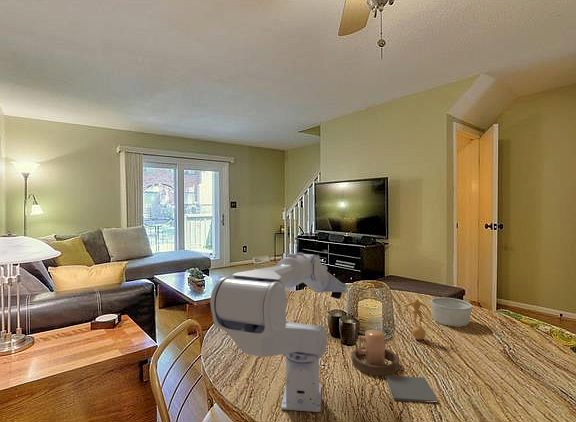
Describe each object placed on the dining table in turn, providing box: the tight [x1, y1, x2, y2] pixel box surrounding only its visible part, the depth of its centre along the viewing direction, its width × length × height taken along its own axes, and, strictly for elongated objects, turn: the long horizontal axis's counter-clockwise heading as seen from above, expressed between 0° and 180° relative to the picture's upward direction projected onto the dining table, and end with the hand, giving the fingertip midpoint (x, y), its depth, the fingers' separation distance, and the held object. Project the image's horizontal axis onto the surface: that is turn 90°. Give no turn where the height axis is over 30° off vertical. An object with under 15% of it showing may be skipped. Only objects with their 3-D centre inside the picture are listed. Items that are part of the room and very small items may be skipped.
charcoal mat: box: [385, 374, 439, 403], centre depth 70 cm, size 9×9×1 cm
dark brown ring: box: [351, 346, 400, 377], centre depth 82 cm, size 12×12×2 cm
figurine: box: [403, 298, 432, 341], centre depth 98 cm, size 8×6×12 cm
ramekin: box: [430, 296, 473, 328], centre depth 112 cm, size 13×13×7 cm
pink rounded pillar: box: [358, 329, 386, 366], centre depth 82 cm, size 7×5×8 cm
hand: (326, 286), depth 88 cm, fingers open, 7 cm apart
